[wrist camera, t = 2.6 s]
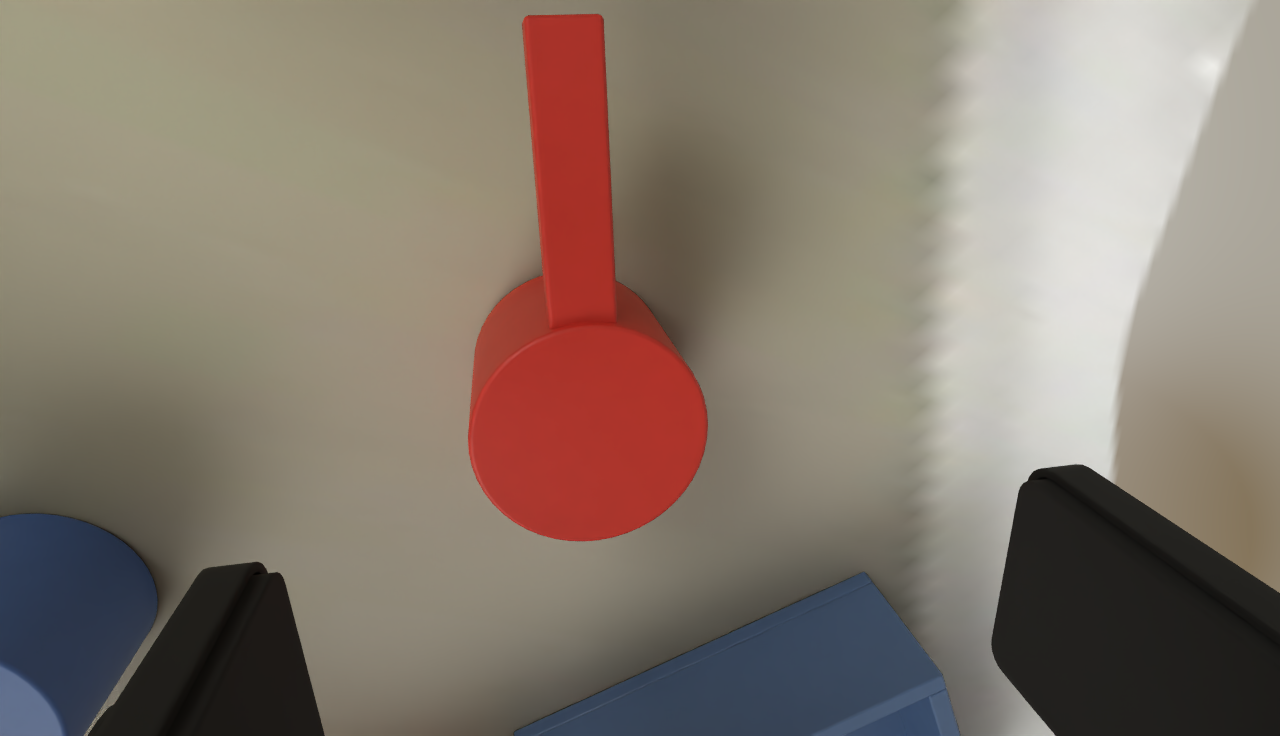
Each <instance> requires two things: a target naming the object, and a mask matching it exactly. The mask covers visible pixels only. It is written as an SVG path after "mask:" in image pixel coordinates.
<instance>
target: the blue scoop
mask: <svg viewBox="0 0 1280 736" xmlns="http://www.w3.org/2000/svg"><path fill="white" fill-rule="evenodd" d="M157 601H158V600H157V592H156V587H155V584H154V580H153V578H152V576H151V574H150V572H149V570H148V568H147V567H146V565H145V564H144V562H143V561H142V559H141V558H140V557H139V556H138V555H137V554H136V553H135V552H134V551H133V550H132V549H131V548H130V547H129V546H127V545H126V544H125V543H124V542H123V541H121V540H120V539H118V538H117V537H115V536H114V535H112V534H110V533H109V532H107V531H105V530H103V529H101V528H99V527H96V526H94V525H92V524H89V523H87V522H83V521H80V520H77V519H73V518H69V517H64V516H59V515H51V514H17V515H10V516H5V517H0V736H84V734H85V733H86V731H87V730H88V728H89V726H90V725H91V723H92V722H93V720H94V718H95V717H96V715H97V714H98V712H99V711H100V709H101V707H102V706H103V704H104V703H105V701H106V699H107V698H108V696H109V695H110V693H111V692H112V690H113V688H114V687H115V685H116V684H117V682H118V680H119V679H120V677H121V676H122V674H123V673H124V671H125V669H126V668H127V666H128V665H129V663H130V661H131V660H132V658H133V657H134V655H135V654H136V652H137V650H138V649H139V647H140V646H141V644H142V642H143V641H144V639H145V638H146V636H147V635H148V633H149V631H150V630H151V628H152V625H153V623H154V621H155V617H156V613H157Z"/></svg>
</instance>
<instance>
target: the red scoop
mask: <svg viewBox="0 0 1280 736" xmlns="http://www.w3.org/2000/svg"><path fill="white" fill-rule="evenodd" d="M522 30H523V42H524V54H525V66H526V78H527V90H528V102H529V114H530V126H531V138H532V150H533V162H534V174H535V186H536V197H537V209H538V221H539V233H540V245H541V257H542V269H543V276H539V277H537V278H534V279H532V280H530V281H527V282H525V283H524V284H522V285H520V286H519V287H517V288H515V289H514V290H513V291H511V292H510V293H509V294H507V295H506V296H505V297H504V298H503V299H502V300H501V301H500V302H499V303H498V304H497V305H496V306H495V307H494V309H493V310H492V311H491V313H490V314H489V315H488V317H487V319H486V321H485V323H484V324H483V326H482V329H481V331H480V334H479V336H478V339H477V344H476V348H475V356H474V368H473V380H472V393H471V406H470V419H469V432H468V446H469V455H470V460H471V464H472V468H473V471H474V473H475V476H476V479H477V481H478V482H479V484H480V486H481V488H482V490H483V491H484V493H485V494H486V495H487V497H488V498H489V499H490V501H491V502H492V503H493V504H494V505H495V506H496V507H497V508H498V509H499V510H500V511H501V512H502V513H503V514H504V515H505V516H507V517H508V518H509V519H511V520H512V521H514V522H515V523H517V524H518V525H520V526H522V527H524V528H526V529H527V530H530V531H532V532H535V533H537V534H540V535H543V536H547V537H550V538H554V539H560V540H567V541H593V540H601V539H607V538H612V537H615V536H619V535H622V534H625V533H628V532H630V531H633V530H635V529H637V528H640V527H642V526H643V525H645V524H647V523H649V522H650V521H652V520H654V519H655V518H656V517H658V516H659V515H661V514H662V513H663V512H665V511H666V510H667V509H668V508H669V507H670V506H671V505H672V504H674V503H675V502H676V500H677V499H678V498H679V497H680V496H681V495H682V494H683V492H684V491H685V490H686V488H687V487H688V485H689V484H690V482H691V481H692V480H693V478H694V476H695V474H696V472H697V470H698V468H699V465H700V463H701V460H702V457H703V454H704V450H705V446H706V441H707V431H708V419H707V409H706V404H705V400H704V396H703V394H702V391H701V388H700V386H699V384H698V382H697V380H696V378H695V376H694V374H693V373H692V371H691V370H690V368H689V367H688V365H687V364H686V362H685V361H684V359H683V358H682V356H681V355H680V353H679V352H678V351H677V349H676V348H675V346H674V345H673V343H672V342H671V340H670V339H669V337H668V336H667V334H666V333H665V331H664V330H663V328H662V327H661V326H660V324H659V323H658V321H657V320H656V318H655V317H654V315H653V314H652V312H651V311H650V310H649V308H648V307H647V306H646V304H645V303H644V302H643V301H642V300H641V299H640V298H639V297H638V296H637V295H636V294H635V293H634V292H632V291H631V290H630V289H628V288H627V287H626V286H624V285H622V284H620V283H619V282H617V281H615V259H614V237H613V215H612V193H611V171H610V150H609V128H608V106H607V84H606V62H605V40H604V20H603V17H602V16H601V15H599V14H574V15H528V16H526V17H525V18H524V20H523V23H522Z"/></svg>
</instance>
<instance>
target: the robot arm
mask: <svg viewBox="0 0 1280 736" xmlns="http://www.w3.org/2000/svg"><path fill="white" fill-rule="evenodd" d="M991 645H992V652H993V655H994V658H995V661H996V663H997V665H998V666H999V668H1000V669H1001V671H1002V672H1003V673H1004V674H1005V676H1006V677H1007V678H1008V679H1009V680H1010V682H1011V683H1012V684H1013V685H1014V686H1015V688H1016V689H1017V690H1018V691H1019V692H1020V694H1021V695H1022V696H1023V697H1024V698H1025V700H1026V701H1027V702H1028V703H1029V704H1030V706H1031V707H1032V708H1033V709H1034V710H1035V711H1036V713H1037V714H1038V715H1039V716H1040V717H1041V719H1042V720H1043V721H1044V722H1045V723H1046V725H1047V726H1048V727H1049V728H1050V729H1051V731H1052V732H1053V733H1054V734H1055V735H1056V736H1280V593H1279V592H1277V591H1276V590H1274V589H1273V588H1271V587H1269V586H1268V585H1266V584H1265V583H1263V582H1262V581H1260V580H1259V579H1257V578H1256V577H1254V576H1253V575H1251V574H1250V573H1248V572H1246V571H1245V570H1244V569H1242V568H1240V567H1239V566H1238V565H1236V564H1235V563H1233V562H1232V561H1230V560H1228V559H1227V558H1225V557H1224V556H1222V555H1221V554H1219V553H1218V552H1216V551H1215V550H1213V549H1212V548H1210V547H1209V546H1207V545H1206V544H1204V543H1203V542H1201V541H1200V540H1198V539H1197V538H1195V537H1194V536H1192V535H1191V534H1189V533H1188V532H1186V531H1184V530H1183V529H1182V528H1180V527H1178V526H1177V525H1175V524H1174V523H1172V522H1171V521H1169V520H1168V519H1166V518H1165V517H1163V516H1162V515H1160V514H1159V513H1157V512H1156V511H1154V510H1153V509H1151V508H1150V507H1148V506H1147V505H1145V504H1144V503H1142V502H1141V501H1139V500H1138V499H1136V498H1134V497H1133V496H1131V495H1130V494H1128V493H1127V492H1125V491H1124V490H1122V489H1121V488H1119V487H1118V486H1116V485H1115V484H1113V483H1112V482H1110V481H1109V480H1107V479H1106V478H1104V477H1103V476H1101V475H1100V474H1098V473H1097V472H1095V471H1094V470H1092V469H1090V468H1089V467H1086V466H1084V465H1076V464H1075V465H1067V466H1058V467H1050V468H1041V469H1038V470H1036V471H1034V472H1033V473H1032V474H1031V475H1030V477H1029V479H1028V481H1027V482H1025V483H1023V484H1022V486H1021V487H1020V490H1019V493H1018V498H1017V503H1016V509H1015V514H1014V520H1013V525H1012V531H1011V536H1010V542H1009V547H1008V552H1007V558H1006V563H1005V569H1004V574H1003V580H1002V585H1001V591H1000V596H999V602H998V607H997V613H996V618H995V623H994V629H993V634H992V643H991ZM88 736H325V735H324V731H323V728H322V724H321V720H320V716H319V712H318V708H317V704H316V700H315V697H314V693H313V689H312V685H311V681H310V677H309V673H308V670H307V666H306V662H305V658H304V654H303V650H302V646H301V642H300V639H299V635H298V631H297V627H296V623H295V619H294V615H293V612H292V608H291V604H290V600H289V596H288V592H287V588H286V584H285V581H284V579H283V577H282V575H281V574H280V573H278V572H275V573H268V572H267V570H266V568H265V567H264V565H263V564H262V563H260V562H252V563H243V564H235V565H226V566H218V567H210V568H206V569H203V570H202V571H201V572H200V574H199V575H198V576H197V577H196V579H195V581H194V582H193V584H192V585H191V587H190V588H189V590H188V591H187V593H186V594H185V596H184V597H183V599H182V601H181V602H180V604H179V605H178V607H177V608H176V610H175V611H174V613H173V614H172V616H171V618H170V619H169V621H168V622H167V624H166V625H165V627H164V628H163V630H162V631H161V633H160V635H159V636H158V638H157V639H156V641H155V642H154V644H153V645H152V647H151V648H150V650H149V651H148V653H147V655H146V656H145V658H144V659H143V661H142V662H141V664H140V665H139V667H138V668H137V670H136V672H135V673H134V675H133V676H132V678H131V679H130V681H129V682H128V684H127V685H126V687H125V689H124V690H123V692H122V693H121V695H120V696H119V698H118V699H117V701H116V702H115V704H114V705H113V706H111V707H109V708H108V709H107V710H106V711H105V712H104V714H103V715H102V716H101V717H100V718H99V720H98V721H97V722H96V724H95V725H94V727H93V728H92V730H91V731H90V733H89V734H88Z"/></svg>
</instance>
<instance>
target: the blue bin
mask: <svg viewBox="0 0 1280 736" xmlns="http://www.w3.org/2000/svg"><path fill="white" fill-rule="evenodd" d="M514 736H961V735H960V732H959V729H958V725H957V722H956V718H955V715H954V712H953V708H952V705H951V702H950V698H949V695H948V691H947V688H946V684H945V681H944V678H943V674H942V673H941V672H940V670H939V669H938V668H937V666H936V665H935V664H934V663H933V661H932V660H931V659H930V657H929V656H928V655H927V653H926V652H925V651H924V649H923V648H922V647H921V645H920V644H919V643H918V641H917V640H916V639H915V637H914V636H913V635H912V633H911V632H910V631H909V629H908V628H907V627H906V625H905V624H904V623H903V621H902V620H901V619H900V618H899V616H898V615H897V614H896V612H895V611H894V610H893V608H892V607H891V606H890V604H889V603H888V602H887V600H886V599H885V598H884V596H883V595H882V594H881V592H880V591H879V590H878V588H877V587H876V586H875V584H874V583H873V582H872V581H871V579H870V578H869V577H868V575H867V574H866V573H865V572H862V573H860V574H858V575H856V576H853V577H851V578H849V579H847V580H845V581H842V582H840V583H838V584H836V585H834V586H832V587H829V588H827V589H825V590H823V591H821V592H818V593H816V594H814V595H812V596H810V597H807V598H805V599H803V600H801V601H799V602H797V603H794V604H792V605H790V606H788V607H786V608H783V609H781V610H779V611H777V612H775V613H773V614H770V615H768V616H766V617H764V618H762V619H759V620H757V621H755V622H753V623H751V624H748V625H746V626H744V627H742V628H740V629H738V630H735V631H733V632H731V633H729V634H727V635H724V636H722V637H720V638H718V639H716V640H713V641H711V642H709V643H707V644H705V645H703V646H700V647H698V648H696V649H694V650H692V651H689V652H687V653H685V654H683V655H681V656H678V657H676V658H674V659H672V660H670V661H668V662H665V663H663V664H661V665H659V666H657V667H654V668H652V669H650V670H648V671H646V672H643V673H641V674H639V675H637V676H635V677H633V678H630V679H628V680H626V681H624V682H622V683H619V684H617V685H615V686H613V687H611V688H609V689H606V690H604V691H602V692H600V693H598V694H595V695H593V696H591V697H589V698H587V699H584V700H582V701H580V702H578V703H576V704H574V705H571V706H569V707H567V708H565V709H563V710H560V711H558V712H556V713H554V714H552V715H549V716H547V717H545V718H543V719H541V720H539V721H536V722H534V723H532V724H530V725H528V726H525V727H523V728H521V729H519V730H517V731H515V732H514Z"/></svg>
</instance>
